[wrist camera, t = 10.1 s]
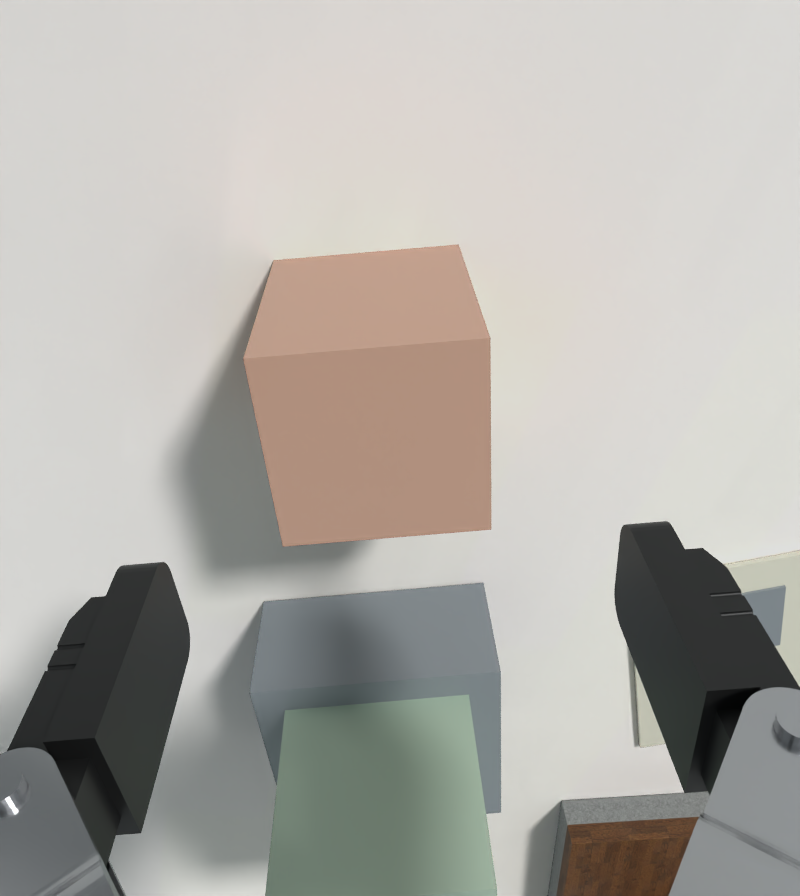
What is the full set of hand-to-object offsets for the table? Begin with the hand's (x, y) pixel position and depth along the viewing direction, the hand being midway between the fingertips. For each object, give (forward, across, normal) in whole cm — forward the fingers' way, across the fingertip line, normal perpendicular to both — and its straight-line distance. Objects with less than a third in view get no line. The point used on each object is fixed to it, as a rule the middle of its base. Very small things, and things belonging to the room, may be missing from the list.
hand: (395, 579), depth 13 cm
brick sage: (+6, +1, +14) cm, 15 cm away
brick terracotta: (+10, 0, 0) cm, 10 cm away
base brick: (+10, +1, +14) cm, 17 cm away
